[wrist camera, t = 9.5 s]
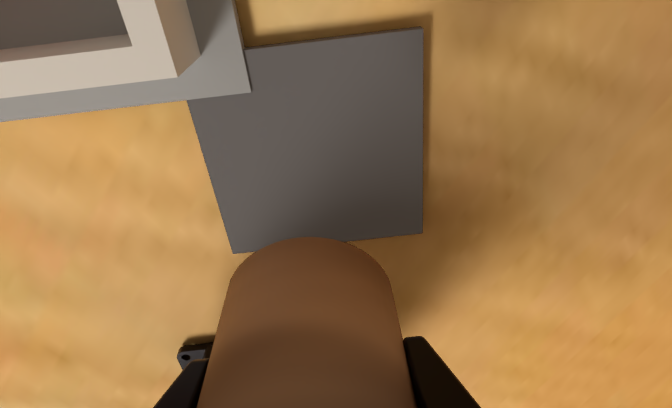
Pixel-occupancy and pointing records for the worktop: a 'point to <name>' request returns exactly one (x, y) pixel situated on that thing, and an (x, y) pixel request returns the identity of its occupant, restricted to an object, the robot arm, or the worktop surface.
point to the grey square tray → (116, 54)
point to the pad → (320, 141)
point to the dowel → (308, 332)
